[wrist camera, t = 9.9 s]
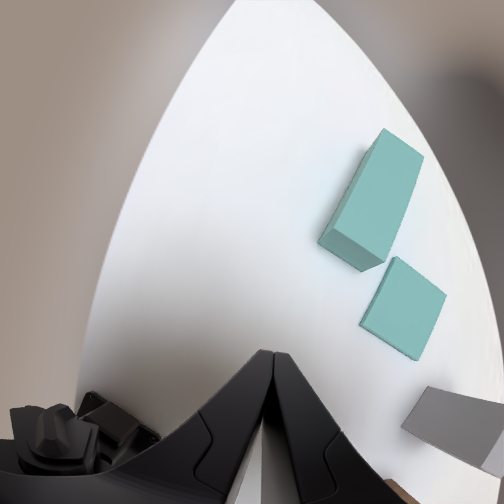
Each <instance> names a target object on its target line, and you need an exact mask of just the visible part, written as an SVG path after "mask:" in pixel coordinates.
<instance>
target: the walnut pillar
mask: <svg viewBox="0 0 504 504" xmlns="http://www.w3.org/2000/svg"><path fill="white" fill-rule="evenodd" d="M384 481H385V482H386V483H387V484H388V485H389V486H390V487H391V488H392V489H393V490H394V491H395V492H396V493H397V494H398V495H399V496H400V497H401V498H402V499H403V500H405V501H406V502H407V503H408V504H420V503H419V502H418V501H417V500H415V499H414V498H413V497H412V496H411V495H409V494H408V493H407V492H406V491H405V490H404V489H403V488H401V487H400V486H399V485H398V484H397V483H396V482H395V481H394V480H392V479H388V480H384Z"/></svg>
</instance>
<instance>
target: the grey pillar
mask: <svg viewBox="0 0 504 504" xmlns="http://www.w3.org/2000/svg"><path fill="white" fill-rule="evenodd" d="M401 427H402V428H404V429H405V430H407V431H408V432H410V433H412V434H413V435H415V436H417V437H418V438H420V439H421V440H423V441H425V442H426V443H428V444H430V445H432V446H434V447H436V448H438V449H440V450H442V451H443V452H445V453H447V454H449V455H451V456H453V457H455V458H457V459H459V460H461V461H463V462H465V463H467V464H469V465H471V466H474V467H476V468H478V469H480V470H482V471H484V472H486V473H489V474H491V475H493V476H495V477H498V478H500V479H502V477H503V475H504V404H501V403H496V402H491V401H486V400H482V399H477V398H473V397H468V396H464V395H460V394H456V393H452V392H448V391H444V390H440V389H436V388H432V387H429V386H428V387H427V388H426V390H425V392H424V393H423V395H422V396H421V398H420V399H419V401H418V403H417V404H416V406H415V407H414V409H413V410H412V412H411V413H410V415H409V416H408V417H407V419H406V420H405V422H404V423H403V424H402V426H401Z"/></svg>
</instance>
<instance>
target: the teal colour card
mask: <svg viewBox="0 0 504 504" xmlns="http://www.w3.org/2000/svg"><path fill="white" fill-rule="evenodd" d="M446 296H447V295H446V294H445V293H443V292H442V291H441V290H440V289H439V288H437V287H436V286H435V285H434V284H432V283H431V282H430V281H429V280H427V279H426V278H425V277H423V276H422V275H421V274H420V273H418V272H417V271H416V270H414V269H413V268H412V267H411V266H409V265H408V264H407V263H405V262H404V261H403V260H401V259H400V258H399V257H397V256H396V257H394V258H393V259H392V261H391V263H390V265H389V268H388V270H387V272H386V274H385V276H384V278H383V280H382V282H381V284H380V286H379V288H378V290H377V292H376V294H375V296H374V298H373V300H372V302H371V304H370V306H369V308H368V310H367V312H366V314H365V316H364V317H363V319H362V321H361V323H360V326H362V327H363V328H365V329H366V330H368V331H369V332H371V333H372V334H374V335H375V336H377V337H379V338H380V339H382V340H383V341H385V342H386V343H388V344H389V345H391V346H392V347H394V348H396V349H397V350H399V351H400V352H402V353H403V354H405V355H406V356H408V357H410V358H411V359H413V360H415V361H418V360H419V358H420V356H421V354H422V352H423V350H424V348H425V346H426V344H427V342H428V339H429V337H430V335H431V333H432V330H433V328H434V326H435V324H436V321H437V319H438V316H439V314H440V311H441V309H442V306H443V304H444V301H445V298H446Z"/></svg>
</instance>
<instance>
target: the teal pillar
mask: <svg viewBox="0 0 504 504" xmlns="http://www.w3.org/2000/svg"><path fill="white" fill-rule="evenodd" d="M423 159H424V156H423V155H421V154H420V153H419V152H417V151H416V150H415V149H413V148H412V147H410V146H409V145H408V144H406V143H405V142H403V141H402V140H401V139H399V138H398V137H396V136H395V135H393V134H392V133H390V132H389V131H387V130H386V129H384V128H383V130H382V131H381V133H380V134H379V135H378V137H377V138H376V140H375V141H374V142H373V144H372V145H371V147H370V148H369V149H368V151H367V152H366V154H365V156H364V158H363V160H362V162H361V164H360V166H359V168H358V170H357V172H356V174H355V176H354V177H353V179H352V181H351V183H350V185H349V187H348V189H347V191H346V193H345V195H344V196H343V198H342V200H341V202H340V204H339V206H338V208H337V209H336V211H335V213H334V215H333V217H332V219H331V220H330V222H329V224H328V226H327V228H326V229H325V231H324V233H323V235H322V236H321V238H320V240H319V242H318V244H319V245H320V246H322V247H323V248H325V249H326V250H328V251H330V252H331V253H333V254H334V255H336V256H337V257H339V258H341V259H342V260H344V261H345V262H347V263H348V264H350V265H351V266H353V267H354V268H356V269H357V270H359V271H360V272H363V271H366V270H368V269H370V268H372V267H375V266H377V265H379V264H382V263H384V262H385V261H386V258H387V256H388V254H389V251H390V249H391V247H392V244H393V242H394V240H395V237H396V235H397V232H398V230H399V227H400V225H401V222H402V220H403V217H404V214H405V212H406V209H407V206H408V204H409V201H410V198H411V195H412V192H413V190H414V187H415V184H416V181H417V178H418V175H419V172H420V169H421V165H422V162H423Z"/></svg>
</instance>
